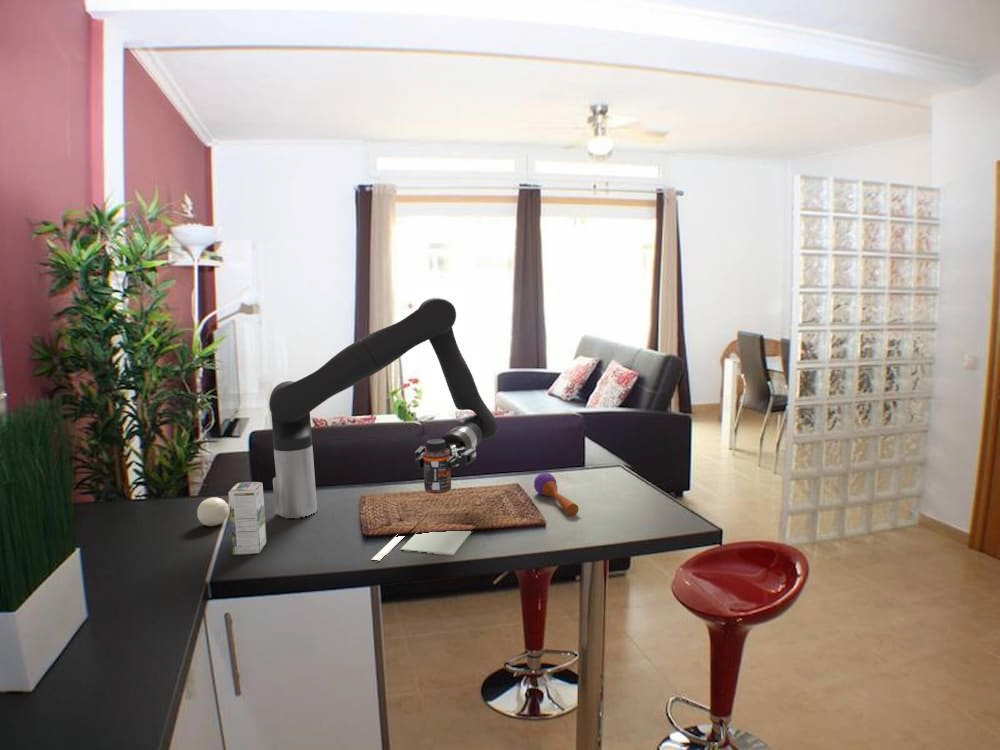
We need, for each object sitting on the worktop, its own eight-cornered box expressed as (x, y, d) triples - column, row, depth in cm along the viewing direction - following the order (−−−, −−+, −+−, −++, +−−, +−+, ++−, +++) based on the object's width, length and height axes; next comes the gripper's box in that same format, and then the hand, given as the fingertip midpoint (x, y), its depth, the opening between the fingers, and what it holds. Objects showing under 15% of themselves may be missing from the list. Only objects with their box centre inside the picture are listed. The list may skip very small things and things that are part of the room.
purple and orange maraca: (559, 503, 157) (529, 473, 175) (563, 524, 159) (532, 493, 177) (581, 495, 158) (549, 466, 177) (585, 517, 160) (552, 486, 179)
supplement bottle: (442, 496, 142) (439, 445, 140) (419, 492, 145) (416, 443, 143) (456, 487, 147) (454, 438, 145) (434, 484, 150) (431, 436, 148)
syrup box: (241, 544, 147) (235, 482, 145) (268, 543, 147) (262, 480, 145) (232, 555, 141) (226, 490, 139) (261, 553, 142) (255, 489, 139)
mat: (400, 550, 141) (400, 548, 141) (427, 522, 157) (427, 521, 157) (453, 555, 138) (453, 553, 138) (475, 526, 153) (475, 525, 153)
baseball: (236, 520, 162) (234, 494, 161) (215, 531, 155) (212, 504, 154) (214, 517, 164) (212, 492, 163) (192, 528, 157) (189, 501, 156)
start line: (371, 560, 137) (371, 559, 137) (412, 521, 158) (412, 520, 158) (380, 561, 136) (380, 560, 136) (420, 522, 157) (420, 521, 157)
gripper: (428, 428, 160) (401, 447, 144) (485, 430, 156) (463, 450, 140) (430, 458, 161) (402, 480, 145) (486, 460, 157) (464, 483, 141)
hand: (432, 465), depth 142 cm, fingers closed on supplement bottle, 6 cm apart
